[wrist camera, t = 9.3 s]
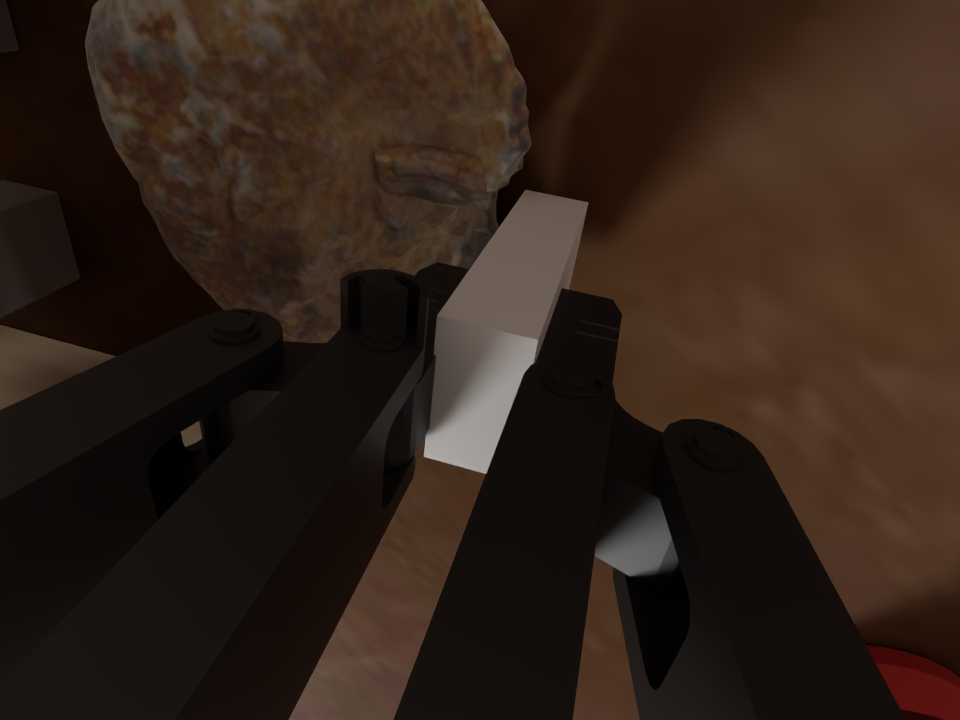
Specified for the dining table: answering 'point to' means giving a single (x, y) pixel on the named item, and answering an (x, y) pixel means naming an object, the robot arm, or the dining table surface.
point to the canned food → (919, 684)
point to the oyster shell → (310, 139)
